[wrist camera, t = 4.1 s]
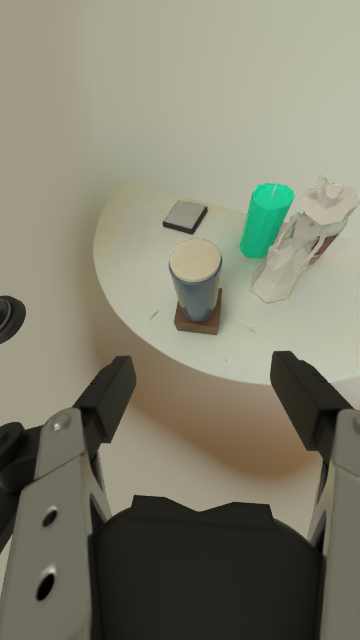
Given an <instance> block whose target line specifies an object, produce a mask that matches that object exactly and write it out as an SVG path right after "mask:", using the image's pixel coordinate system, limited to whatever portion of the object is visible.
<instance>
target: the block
mask: <svg viewBox="0 0 360 640" xmlns="http://www.w3.org/2000/svg"><path fill="white" fill-rule="evenodd" d="M221 293H222V288H219V291H218V299H217V306H216V310H215V312H214V314H213V315H212V316H211V317H210V318H208V319H207V320H204V321H192V320H190V319H188V318H187V317H185V315H184V314H183V313H182V310H181V307H180V304H179V300H178V304H177V309H176V314H175V320H174V324H175V326H176V328H177V330H179V331H187V332H196V333H204V334H213V335H217V331H218V325H219V315H220V304H221Z"/></svg>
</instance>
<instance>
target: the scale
mask: <svg viewBox="0 0 360 640" xmlns="http://www.w3.org/2000/svg"><path fill="white" fill-rule="evenodd" d="M206 213H207V207H205V206H201V205H197V204H192V203H188V202H183V201H179V200H178V202H177V203H176V204H175V206H174V207H173V209H172V210H171V211H170V213H169V214H168V216H167V217H166V218H165V220H164V221H163V226H164V227H168V228H171V229H175V230H178V231H182V232H186V233H189V234H193V233H194V232H195V230H196V228H197V227H198V225H199V224H200V222H201V221H202V219H203V217H204V216H205V214H206Z"/></svg>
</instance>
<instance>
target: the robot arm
mask: <svg viewBox="0 0 360 640" xmlns="http://www.w3.org/2000/svg"><path fill="white" fill-rule="evenodd" d="M12 313H13V307H12V305H11V303H10V302H8V301H6V300H4V299H1V298H0V331H1V330H3V329H4V328H5V326H6V325H7V324H8V323H9V321H10V319H11V317H12ZM270 380H271V384H272V386H273V388H274V390H275V392H276V394H277V396H278V398H279V399H280V401H281V403H282V405H283V407H284V409H285V411H286V413H287V414H288V416H289V418H290V420H291V422H292V424H293V426H294V428H295V429H296V431H297V433H298V435H299V437H300V439H301V440H302V443H303V444H304V446H305V448H306V450H307V451H319V453H320V455H321V456H322V461H321V466H320V472H319V478H318V485H317V491H316V498H315V504H314V510H313V515H312V519H311V523H310V527H309V532H308V536H307V540H306V539H305V538H304V537H303V536H302V535H300V534H299V533H298V532H296V531H295V530H294V529H292V528H291V527H289V526H288V525H286V524H284V523H283V522H280V521H279V520H277V519H275V518H273V516H272V512H271V509H270V505H269V504H256V503H242V502H232V503H228V504H225V505H222V506H218V507H215V508H212V509H208V510H205V511H201V512H197V511H194V510H192V509H190V508H188V507H186V506H183V505H181V504H179V503H176V502H175V501H172V500H170V499H168V498H166V497H155V496H139V495H134V498H133V501H132V505H131V507H130V508H127V509H125V510H123V511H121V512H119V513H117V514H116V515H114V516H113V517H112V514H111V510H110V507H109V504H108V501H107V497H106V492H105V486H104V480H103V474H102V469H101V463H100V457H99V452H98V449H99V446H100V445H101V443H111V441H112V438H113V436H114V434H115V432H116V429H117V427H118V425H119V423H120V420H121V418H122V416H123V414H124V411H125V409H126V407H127V404H128V402H129V400H130V398H131V395H132V393H133V391H134V389H135V386H136V374H135V371H134V366H133V362H132V359H131V357H130V356H117V357H115V359H114V360H113V361H112V363H111V364H110V365H107V366H106V367H105V368H103V369H102V370H100V371H99V373H98V374H97V376H96V377H95V379H93V380H92V382H91V383H90V385H89V386H88V387H87V388H86V389H85V391H84V392H83V393H82V395H81V396H80V397H79V398H78V400H77V401H76V402H75V404H74V405H73V406H72V407H71V408H67V409H64V410H61V411H59V412H58V413H56V414H55V415H53V416H52V417H51V418H50V419H49V420H48V421H47V422H46V423H45V424H44V425H42V426H38V427H34V428H31V429H27V430H25V429H24V427H23V426H22V424H21V423H19V422H11V423H8V424H5V425H3V426H1V427H0V554H1V552H2V550H3V549H4V547H5V545H6V544H7V542H8V540H9V539H10V537H11V535H12V534H13V536H12V542H11V546H10V551H9V556H8V562H7V567H6V572H5V577H4V583H3V588H2V593H1V598H0V640H360V411H359V410H355V409H354V408H353V407H352V406H351V405H350V404H349V403H348V402H347V401H346V400H345V399H344V398H343V397H342V396H341V395H340V394H339V392H338V391H337V390H335V388H334V387H333V386H332V385H331V384H330V383H328V382H327V380H326V379H325V378H324V377H323V376H321V374H320V373H319V372H318V371H317V370H316V369H315V368H314V367H313V366H312V365H310V364H308V363H307V362H305V361H303V360H298V358H297V357H296V356H295V355H294V354H293V353H292V352H291V351H274V352H273V355H272V363H271V371H270Z"/></svg>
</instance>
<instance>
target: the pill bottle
mask: <svg viewBox="0 0 360 640" xmlns="http://www.w3.org/2000/svg"><path fill="white" fill-rule="evenodd" d="M337 186H340V187H344V188H345V189H346V191H347V193H348V196H349V198H350V200H351V202H352V206H351V207H350V209H349V210H348V212H347V214H346V215H345V217H344V218H343V220H342V221H339V222H334V223H332V226H331V227H330V229H329V230H328V232H327V235H326V237H325V240H324V242H323V245H322V246H321V247H320V248H319V249H318V251H317V252H316V253H315V254H314V255H313V257H312V258H311V259H310V260H309V264H308V266H310V265H312V264H313V263H314V262H315V261H316V260H317V259H318V258H319V257H320V256H321V254H322V253H323V252H324V251H325V250H326V249H327V247H328V246H329V245H330V244H331V243H332V242H333V240H334V239H335V238H336V237H337V236H338V235H339V233H340V232H341V231H342V230H343V229H344V227H345V226H346V224H347V220H348V217H349V216H350V215H351V213H352V212H353V211H354V209H355V208H356V207H357V206H358V204H359V203H360V195H359V193H358V192H357V191H356V190H354V189H352V188H351V187H348V186H344V185H337ZM304 214H305V211H304V213H303V214H302V215H304ZM294 229H295V228H294ZM293 233H294V230H293V232H292V234H291V235H290V237H293ZM320 234H321V233H320ZM320 234H319V236H318V237H316V238H315V239H314V240H313V241H309V242H308V243H310V244H311V252H312V251H313V249H314V248H315V247H316V245H317V244H318V242H319V238H320ZM290 237H289V238H290Z"/></svg>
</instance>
